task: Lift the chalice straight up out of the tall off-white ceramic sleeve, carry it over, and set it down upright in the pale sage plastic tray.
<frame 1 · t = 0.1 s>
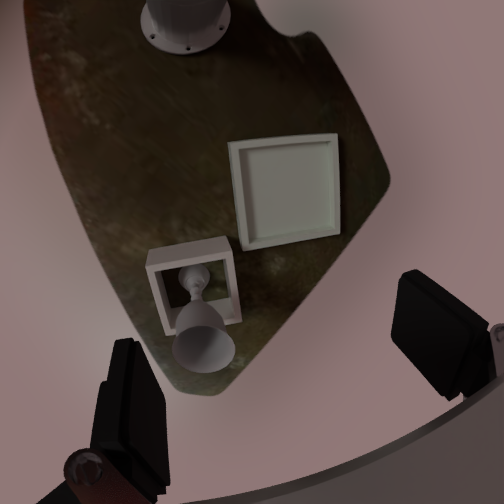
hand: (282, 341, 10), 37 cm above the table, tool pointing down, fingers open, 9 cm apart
tray: (285, 188, 46), on the table
chalice: (194, 276, 49), resting in sleeve
sleeve: (194, 277, 49), on the table
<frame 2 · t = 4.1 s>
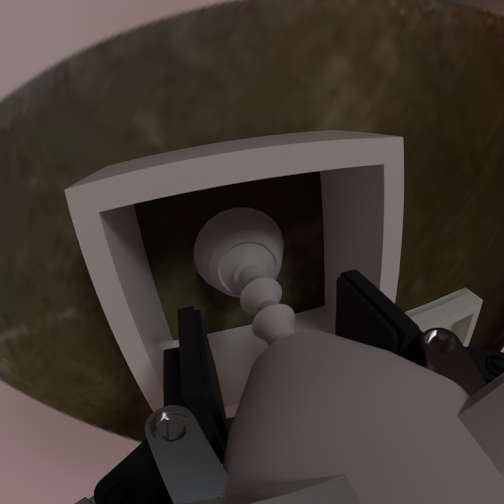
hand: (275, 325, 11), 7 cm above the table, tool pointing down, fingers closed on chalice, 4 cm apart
tray: (388, 379, 25), on the table
chalice: (239, 250, 17), resting in sleeve, touching gripper
sleeve: (239, 252, 17), on the table
when the fingers open (9 cm above the table, at t = 11.9 s): chalice moves 2 cm, resting on tray.
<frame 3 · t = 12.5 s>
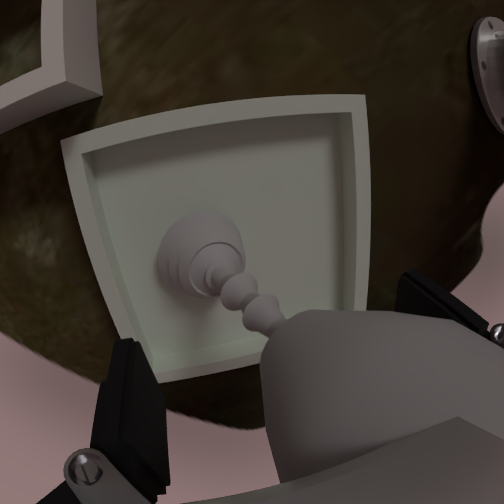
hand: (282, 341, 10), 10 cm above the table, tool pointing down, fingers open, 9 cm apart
tray: (233, 240, 19), on the table
chalice: (200, 253, 17), point 1 cm above the table, touching gripper, tray
sleeve: (10, 41, 10), on the table
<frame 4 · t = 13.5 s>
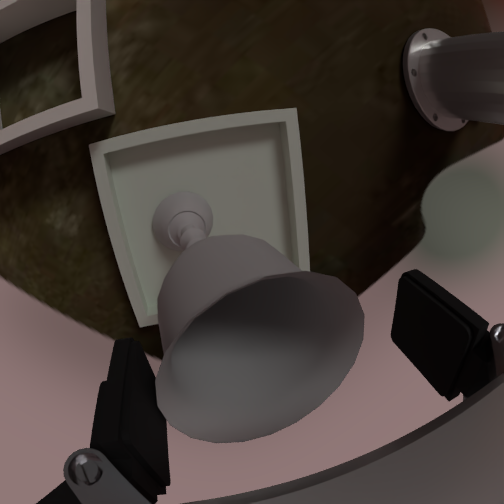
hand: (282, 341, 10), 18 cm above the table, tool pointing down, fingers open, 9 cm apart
tray: (206, 214, 26), on the table
chalice: (182, 221, 25), point 1 cm above the table
sleeve: (43, 70, 18), on the table
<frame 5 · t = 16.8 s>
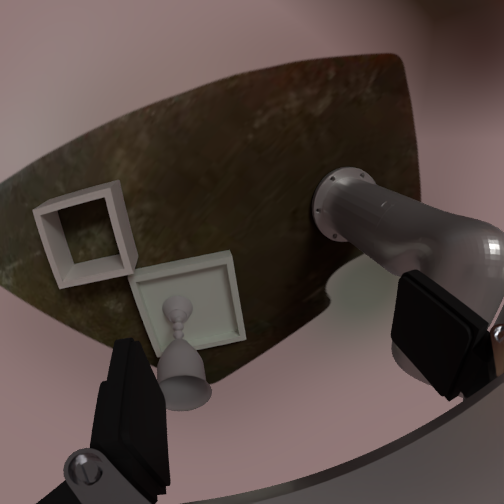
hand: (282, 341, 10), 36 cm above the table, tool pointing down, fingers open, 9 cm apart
tray: (189, 303, 50), on the table
chalice: (177, 307, 49), point 1 cm above the table, touching tray
sleeve: (92, 227, 42), on the table
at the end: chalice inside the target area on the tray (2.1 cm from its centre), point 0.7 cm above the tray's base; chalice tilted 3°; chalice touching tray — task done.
